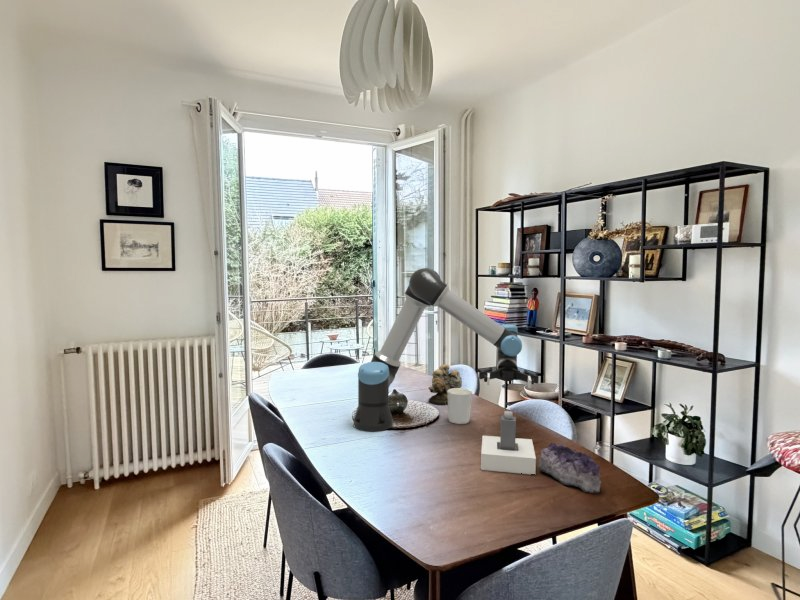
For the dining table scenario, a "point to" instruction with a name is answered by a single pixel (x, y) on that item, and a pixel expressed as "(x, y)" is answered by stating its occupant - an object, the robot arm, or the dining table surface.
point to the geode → (570, 467)
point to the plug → (508, 431)
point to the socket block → (508, 456)
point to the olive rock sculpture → (443, 384)
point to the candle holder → (459, 405)
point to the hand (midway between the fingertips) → (509, 382)
